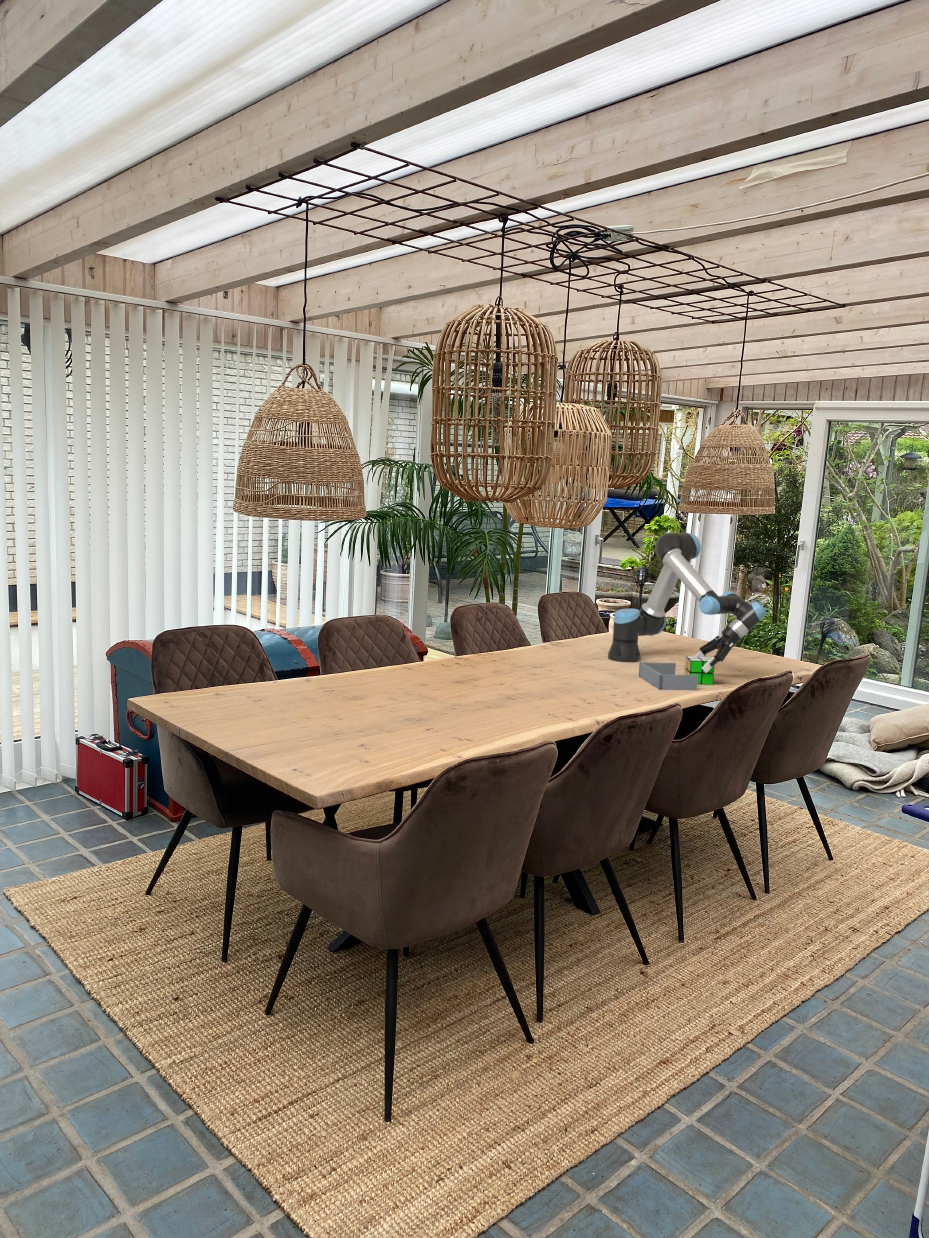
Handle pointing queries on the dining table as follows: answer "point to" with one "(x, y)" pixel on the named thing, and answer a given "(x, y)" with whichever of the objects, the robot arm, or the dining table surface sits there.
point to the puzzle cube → (699, 669)
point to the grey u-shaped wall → (666, 677)
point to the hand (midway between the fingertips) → (697, 667)
